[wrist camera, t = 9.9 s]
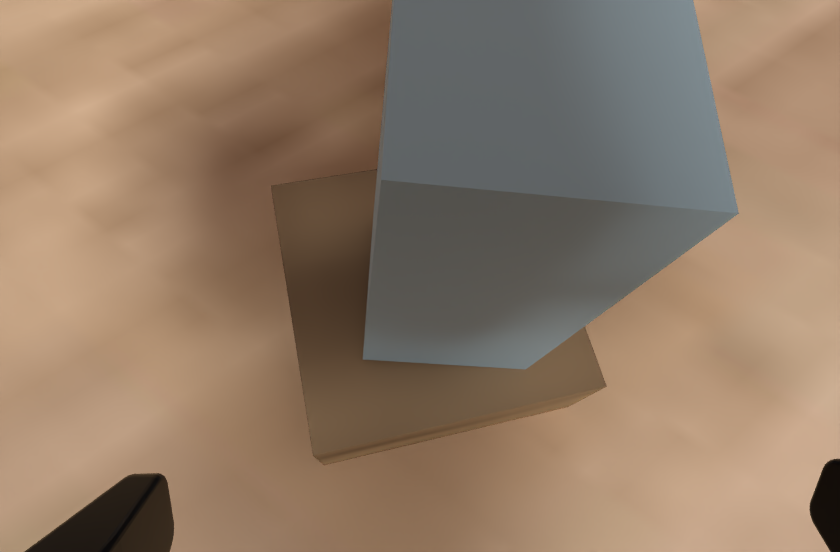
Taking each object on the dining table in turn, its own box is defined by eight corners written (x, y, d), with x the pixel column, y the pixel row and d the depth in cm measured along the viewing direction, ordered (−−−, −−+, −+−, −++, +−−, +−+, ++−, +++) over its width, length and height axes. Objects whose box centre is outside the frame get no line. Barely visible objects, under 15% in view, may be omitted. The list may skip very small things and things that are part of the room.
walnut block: (564, 408, 21) (606, 386, 17) (324, 466, 19) (313, 455, 15) (496, 203, 24) (519, 147, 20) (287, 238, 22) (270, 185, 19)
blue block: (525, 369, 17) (738, 213, 8) (362, 359, 16) (380, 179, 7) (519, 225, 19) (684, -39, 10) (373, 212, 18) (399, -80, 9)
